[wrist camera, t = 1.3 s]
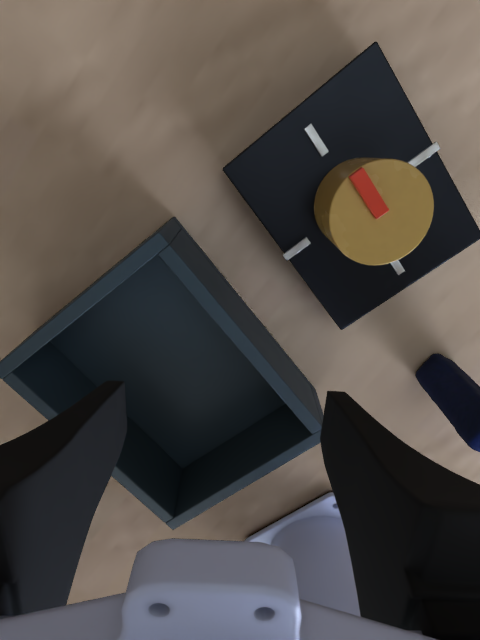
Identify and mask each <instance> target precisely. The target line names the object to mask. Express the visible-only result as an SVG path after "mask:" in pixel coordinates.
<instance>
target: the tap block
mask: <svg viewBox="0 0 480 640" xmlns="http://www.w3.org/2000/svg"><path fill="white" fill-rule="evenodd" d="M439 149H440V147H439V145H438V143H437V142H434V143H433V144H432V142H431V140H430V138H429V136H428V134H427V133H426V131H425V129H424V127H423V125H422V123H421V122H420V120H419V118H418V116H417V114H416V112H415V111H414V109H413V107H412V105H411V103H410V101H409V100H408V98H407V96H406V94H405V92H404V90H403V89H402V87H401V85H400V83H399V81H398V79H397V78H396V76H395V74H394V72H393V70H392V68H391V67H390V65H389V63H388V61H387V59H386V57H385V56H384V54H383V52H382V50H381V48H380V46H379V45H378V43H377V42H374V43H373V44H372V45H370V46H369V47H368V48H367V49H365V50H364V51H363V52H362V53H361V54H359V55H358V56H357V57H356V58H354V59H353V60H352V61H351V62H350V63H348V64H347V65H346V66H345V67H344V68H342V69H341V70H340V71H339V72H338V73H336V74H335V75H334V76H333V77H332V78H330V79H329V80H328V81H327V82H326V83H324V84H323V85H322V86H321V87H320V88H318V89H317V90H316V91H315V92H314V93H312V94H311V95H310V96H309V97H308V98H306V99H305V100H304V101H303V102H302V103H300V104H299V105H298V106H297V107H296V108H294V109H293V110H292V111H291V112H289V113H288V114H287V115H286V116H285V117H283V118H282V119H281V120H280V121H279V122H277V123H276V124H275V125H274V126H273V127H271V128H270V129H269V130H268V131H267V132H265V133H264V134H263V135H262V136H261V137H259V138H258V139H257V140H256V141H255V142H253V143H252V144H251V145H250V146H249V147H247V148H246V149H245V150H244V151H243V152H241V153H240V154H239V155H238V156H237V157H235V158H234V159H233V160H232V161H231V162H229V163H228V164H227V165H226V166H225V167H223V171H224V173H225V174H226V175H227V177H228V178H229V179H230V181H231V182H232V183H233V185H234V186H235V187H236V189H237V190H238V192H239V193H240V194H241V196H242V197H243V198H244V200H245V201H246V202H247V204H248V205H249V206H250V208H251V209H252V210H253V212H254V213H255V215H256V216H257V217H258V219H259V220H260V221H261V223H262V224H263V225H264V227H265V228H266V229H267V231H268V232H269V233H270V235H271V236H272V238H273V239H274V240H275V242H276V243H277V244H278V246H279V247H280V248H281V250H282V251H283V252H284V254H282V255H283V256H284V258H285V259H286V260H289V261H290V262H291V263H292V265H293V266H294V267H295V269H296V270H297V271H298V273H299V274H300V275H301V277H302V278H303V279H304V281H305V282H306V283H307V285H308V286H309V288H310V289H311V290H312V292H313V293H314V294H315V296H316V297H317V298H318V300H319V301H320V302H321V304H322V305H323V306H324V308H325V309H326V311H327V312H328V313H329V315H330V316H331V317H332V319H333V320H334V321H335V323H336V324H337V325H338V327H339V328H340V329H341V330H343V329H344V328H346V327H347V326H349V325H350V324H352V323H353V322H355V321H356V320H358V319H359V318H361V317H362V316H364V315H365V314H367V313H368V312H370V311H371V310H373V309H374V308H376V307H377V306H379V305H380V304H382V303H384V302H385V301H387V300H388V299H390V298H391V297H393V296H394V295H396V294H397V293H399V292H400V291H402V290H403V289H405V288H406V287H408V286H409V285H411V284H412V283H414V282H415V281H417V280H418V279H420V278H421V277H423V276H424V275H426V274H428V273H429V272H431V271H432V270H434V269H435V268H437V267H438V266H440V265H441V264H443V263H444V262H446V261H447V260H449V259H450V258H452V257H453V256H455V255H456V254H458V253H459V252H461V251H462V250H464V249H465V248H467V247H468V246H470V245H472V244H473V243H475V242H476V241H478V240H479V239H480V230H479V228H478V226H477V224H476V222H475V221H474V219H473V217H472V215H471V213H470V211H469V210H468V208H467V206H466V204H465V202H464V200H463V199H462V197H461V195H460V193H459V191H458V189H457V188H456V186H455V184H454V182H453V180H452V178H451V177H450V175H449V173H448V171H447V169H446V167H445V166H444V164H443V162H442V160H441V158H440V156H439V155H438V153H437V151H438V150H439ZM354 158H385V159H397V160H401V161H404V162H407V163H409V164H411V165H413V166H414V167H416V168H417V169H418V170H419V171H420V172H421V173H422V174H423V175H424V176H425V178H426V179H427V181H428V183H429V185H430V187H431V190H432V194H433V200H434V211H433V217H432V221H431V224H430V227H429V229H428V231H427V233H426V235H425V237H424V238H423V240H422V241H421V242H420V243H419V245H418V246H417V247H416V248H415V249H414V250H413V251H411V252H410V253H409V254H408V255H406V256H404V257H403V258H401V259H399V260H397V261H395V262H392V263H389V264H384V265H375V266H374V265H365V264H361V263H358V262H355V261H353V260H351V259H350V258H348V257H347V256H345V255H344V254H343V253H342V252H341V251H340V250H339V249H338V248H337V247H336V246H335V245H334V244H333V243H332V242H331V241H330V240H329V239H328V238H327V237H326V236H325V235H324V234H323V233H322V232H321V230H320V228H319V227H318V224H317V222H316V219H315V214H314V201H315V196H316V192H317V190H318V187H319V185H320V183H321V181H322V180H323V179H324V177H325V176H326V175H327V174H328V173H329V171H331V170H332V169H333V168H334V167H336V166H337V165H338V164H340V163H342V162H344V161H347V160H350V159H354Z"/></svg>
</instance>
